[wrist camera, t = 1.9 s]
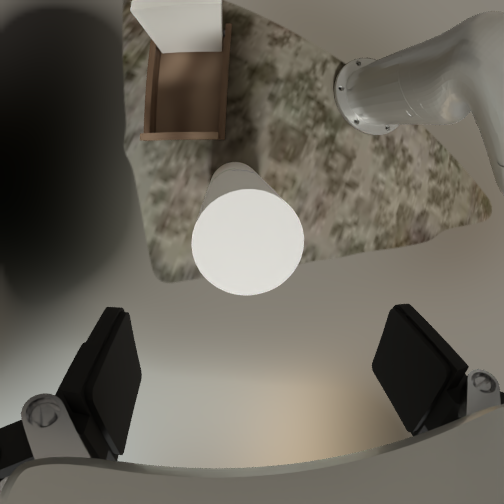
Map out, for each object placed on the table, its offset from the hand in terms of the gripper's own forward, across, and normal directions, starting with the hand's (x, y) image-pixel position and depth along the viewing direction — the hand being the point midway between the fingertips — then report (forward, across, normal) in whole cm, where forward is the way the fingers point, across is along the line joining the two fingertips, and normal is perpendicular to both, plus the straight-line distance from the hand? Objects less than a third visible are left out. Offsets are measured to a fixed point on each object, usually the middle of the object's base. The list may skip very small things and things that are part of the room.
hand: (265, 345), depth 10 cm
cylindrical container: (+35, 0, 0) cm, 35 cm away
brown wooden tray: (+35, +7, -15) cm, 38 cm away
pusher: (+34, +7, -21) cm, 40 cm away
